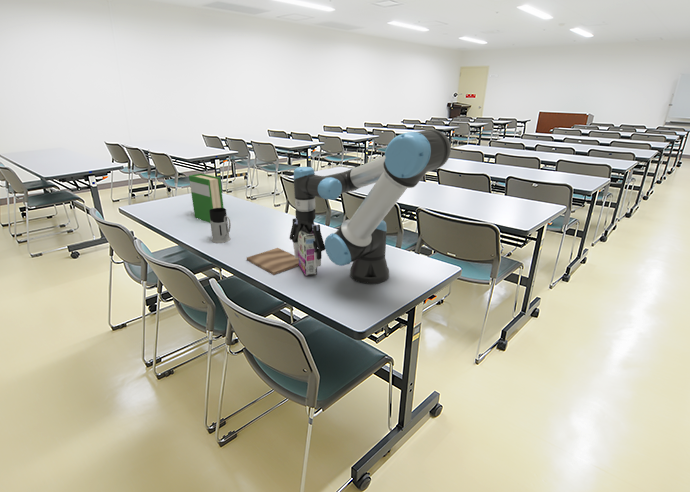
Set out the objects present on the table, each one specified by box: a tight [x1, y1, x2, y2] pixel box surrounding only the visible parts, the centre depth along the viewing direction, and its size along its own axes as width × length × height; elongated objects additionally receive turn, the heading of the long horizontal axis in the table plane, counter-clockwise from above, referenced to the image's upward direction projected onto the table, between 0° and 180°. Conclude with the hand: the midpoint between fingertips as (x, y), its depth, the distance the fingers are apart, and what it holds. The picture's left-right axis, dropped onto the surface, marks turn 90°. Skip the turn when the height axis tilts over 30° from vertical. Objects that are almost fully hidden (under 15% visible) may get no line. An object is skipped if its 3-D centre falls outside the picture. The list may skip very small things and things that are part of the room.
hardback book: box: [188, 173, 225, 224], centre depth 213 cm, size 18×7×24 cm, turn 52°
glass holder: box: [209, 208, 231, 244], centre depth 183 cm, size 9×14×15 cm, turn 47°
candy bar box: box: [298, 230, 318, 277], centre depth 152 cm, size 11×5×16 cm, turn 21°
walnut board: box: [246, 247, 300, 276], centre depth 163 cm, size 20×16×1 cm
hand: (307, 261), depth 154 cm, fingers closed on candy bar box, 12 cm apart
